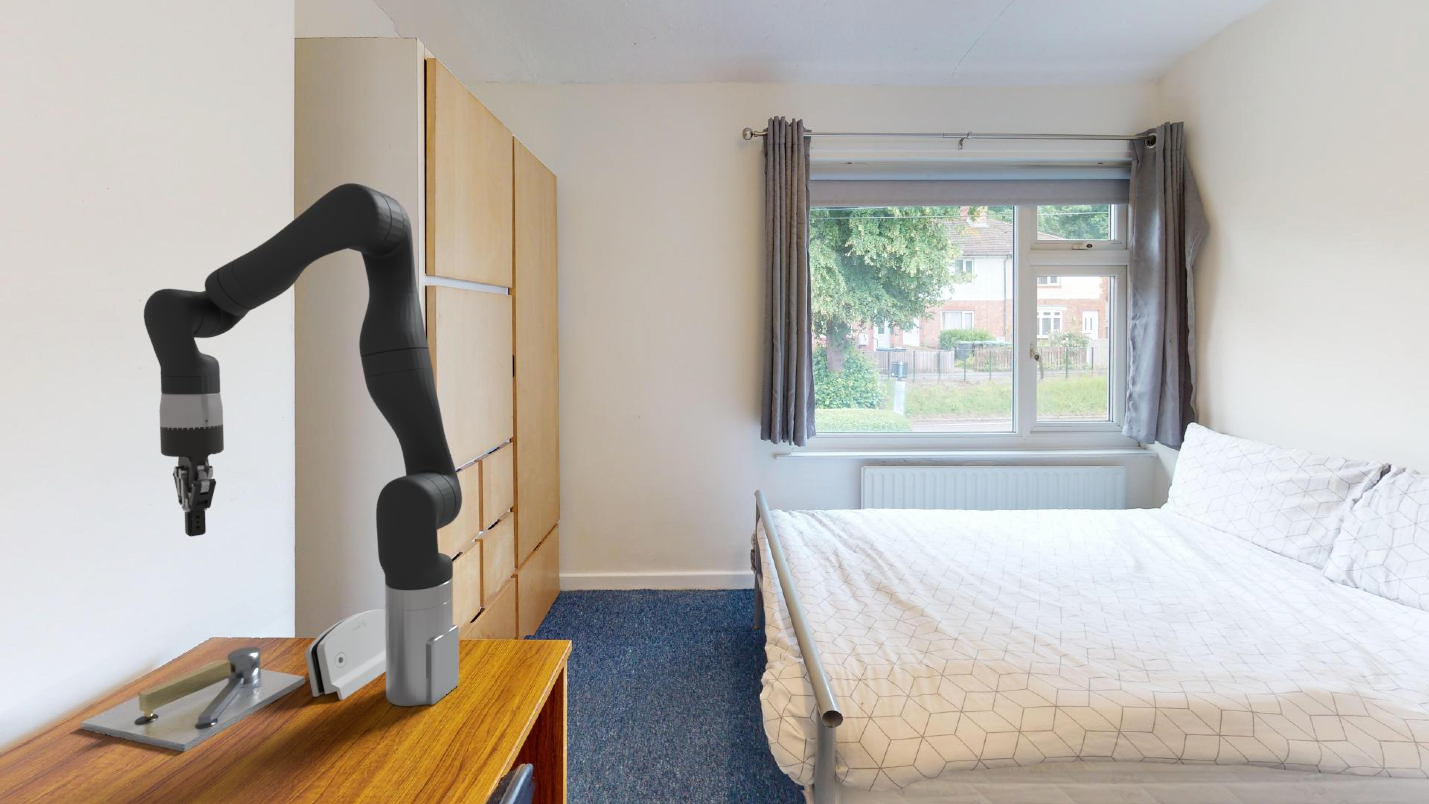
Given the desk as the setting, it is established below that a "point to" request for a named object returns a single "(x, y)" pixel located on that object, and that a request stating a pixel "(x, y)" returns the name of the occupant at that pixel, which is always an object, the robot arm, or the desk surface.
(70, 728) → the desk surface
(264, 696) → the mounting plate
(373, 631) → the light grey curved piece
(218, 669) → the leg
